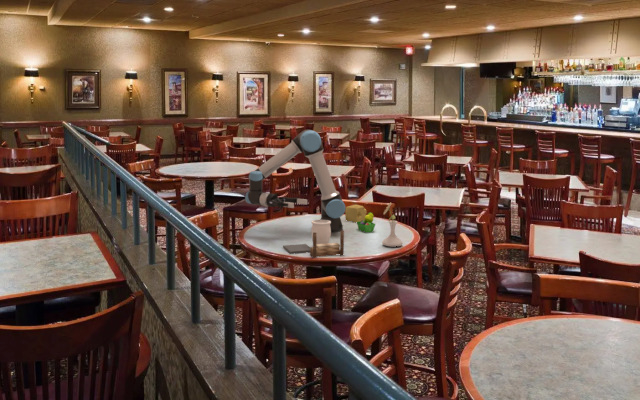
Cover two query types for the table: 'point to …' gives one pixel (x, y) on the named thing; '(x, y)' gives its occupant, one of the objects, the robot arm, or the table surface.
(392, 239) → the flower in vase
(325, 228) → the jar
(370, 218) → the fruit basket
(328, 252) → the board rack
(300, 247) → the mat
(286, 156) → the robot arm
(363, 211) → the cheese
